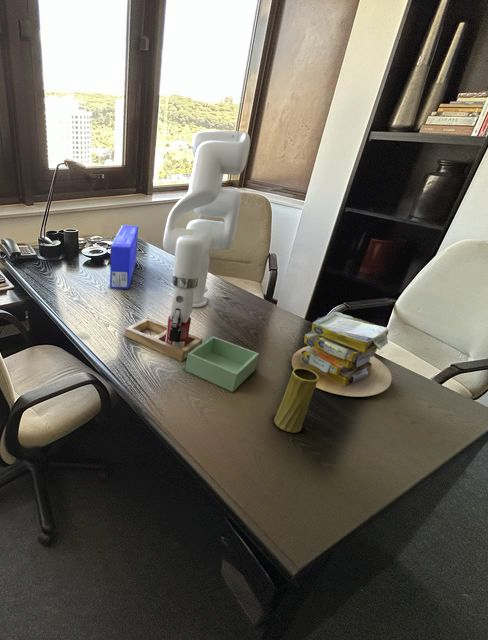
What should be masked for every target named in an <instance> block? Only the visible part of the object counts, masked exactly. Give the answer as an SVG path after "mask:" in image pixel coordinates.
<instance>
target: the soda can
mask: <svg viewBox="0 0 488 640" xmlns="http://www.w3.org/2000/svg"><path fill="white" fill-rule="evenodd" d="M170 315H171V313H170V314H169V315H168V317H167V324H166V325H167V332H166V340H165V342H166V343H168V344H170V345H173V346H175V347H178V348H180V349H182V348H183V347H185V346H186V345H187V341H188V335H189V334H190V328H191V323H192V318H191V316H190V317H189V319H188V321H187V322H186V323H184V322H182V325H181V337H180V342H179V343H178V342H173V341H169V336H170V329H171V325H172V320H171V319H170ZM178 320H181V318H179V319H178ZM179 324H180V322H178V325H179Z"/></svg>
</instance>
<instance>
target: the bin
mask: <svg viewBox="0 0 488 640" xmlns="http://www.w3.org/2000/svg"><path fill="white" fill-rule="evenodd" d="M259 357H260V353H258V352H256V351H254V350H251V349H248V348H245V347H243V346H240V345H238V344H235V343H233V342H230V341H227V340H224V339H222V338H219V337H217V336H214V335H212V336H211V337H210V338H208V339H207V340H204V342H202V344H201V345H199V346H198V347H197V348H195V349H194V350H192V351H191V352H189V353H188V356H187V358H186V363H185V369H184V371H185V372H187V373H190V374H191V375H194V376H197V377H198V378H201V379H202V380H205V381H208V382H210V383H212V384H213V385H217V386H218V387H220V388H223V389H225V390H227V391H229V392H232V393H233V392H234V391H235V390H236V389H237V388H238V387H239V386H241V385H242V383H243V382H244V381H245V380H247V378H249V376H250V375H251V374H253V373H254V372H255V371H256V367H257V364H258V360H259Z"/></svg>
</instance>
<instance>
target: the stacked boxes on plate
mask: <svg viewBox="0 0 488 640" xmlns="http://www.w3.org/2000/svg"><path fill="white" fill-rule="evenodd" d="M389 331H390V330H389V329H388V327H386V326H382V325H377V324H374V323H370V322H369V321H366V320H363V319H362V318H357V317H353V316H351V315H347V314H344V313H342V312H339V311H333V312H331V313H330V314H329V313H328V314H327V315H324V316H322V317H317V319H316V320H315V321H312V324H311V331H309V332H307V333H305V334H304V340H303V341H304V342H303V344H305V345H306V346H304V347H302V348H300V349H298V350H296V351H295V353H293V355H292V357H291V366H292V369H293V370H294V369H295V368H306V369H309V370H312V371H314V372H315V373H316V374H317V375H318V377H319V379H318V382H317V384H316V387H315V388H317V389H319V390H322V391H324V392H328V393H331V394H335V395H338V396H339V395H340V396H346V397H354V398H355V397H356V398H357V397H358V398H359V397H370V396H374V395H375V396H376V395H378V394H381V393H383V392H384V391H386V390H387V389H388V388H390V385H391V383H392V381H393V380H392V379H393V378H392V373H391V371H390V370H389V368H388V367H387V366H386V365H385V364H384V362H382V361H381V360H380V359H378V358H376V357H375V356H376V352H377V350H379V351H381V350H382V348H383V347H385V346H387V344H389V341H388V340H389V339H388V335H389Z"/></svg>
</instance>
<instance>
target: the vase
mask: <svg viewBox="0 0 488 640" xmlns="http://www.w3.org/2000/svg"><path fill="white" fill-rule="evenodd" d="M318 379H319V377H318V375H317V374H316V373H315V372H314V371H312V370H309V369H306V368H295V369H293V370H292V371H291V374H290V377H289V380H288V383H287V386H286V389H285V392H284V394H283V396H282V400H281V402H280V404H279V406H278V409H277V411H276V414H275V416H274V418H273V423H274V424H275V426H276V427H278V429H280V430H282V431H284V432H287V433H291V434H294V433H295V434H296V433H299V432H300V431H301V430H302V429H303V423H304V422H305V418H306V416H307V412H308V409H309V406H310V403H311V400H312V397H313V394H314V392H315V389H316V388H317V387H316V384H317V382H318Z"/></svg>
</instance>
